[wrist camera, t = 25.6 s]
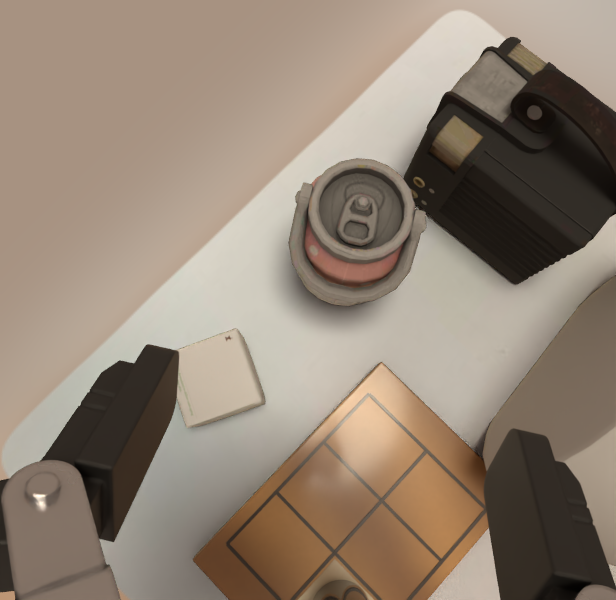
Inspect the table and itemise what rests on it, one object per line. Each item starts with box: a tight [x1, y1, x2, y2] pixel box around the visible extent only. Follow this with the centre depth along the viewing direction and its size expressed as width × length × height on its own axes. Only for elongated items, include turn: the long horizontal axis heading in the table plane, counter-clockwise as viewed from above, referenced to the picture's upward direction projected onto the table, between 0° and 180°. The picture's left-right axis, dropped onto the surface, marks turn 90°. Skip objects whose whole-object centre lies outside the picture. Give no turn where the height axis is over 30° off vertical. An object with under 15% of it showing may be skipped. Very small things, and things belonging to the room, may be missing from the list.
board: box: [193, 362, 489, 600], centre depth 41 cm, size 20×14×1 cm
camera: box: [403, 37, 616, 284], centre depth 40 cm, size 11×14×15 cm
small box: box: [176, 328, 265, 428], centre depth 41 cm, size 6×6×5 cm
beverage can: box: [288, 158, 426, 306], centre depth 40 cm, size 9×8×12 cm
